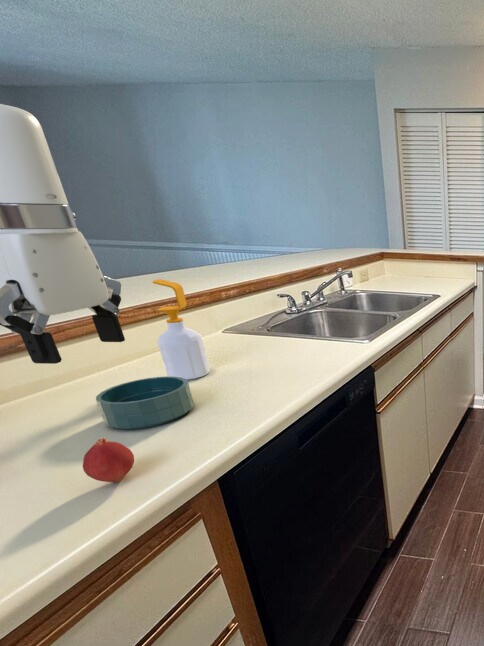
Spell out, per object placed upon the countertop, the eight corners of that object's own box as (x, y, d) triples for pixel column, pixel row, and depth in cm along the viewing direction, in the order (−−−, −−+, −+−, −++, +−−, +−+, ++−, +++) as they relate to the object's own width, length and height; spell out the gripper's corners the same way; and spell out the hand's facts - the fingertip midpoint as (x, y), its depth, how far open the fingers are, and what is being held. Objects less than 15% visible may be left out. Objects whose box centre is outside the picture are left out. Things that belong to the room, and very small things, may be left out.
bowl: (87, 426, 84) (75, 399, 82) (159, 398, 97) (151, 373, 95) (144, 435, 81) (135, 407, 79) (211, 405, 94) (204, 380, 92)
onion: (83, 495, 64) (63, 449, 61) (105, 474, 69) (88, 431, 66) (128, 489, 65) (111, 444, 62) (147, 469, 71) (132, 427, 68)
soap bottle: (176, 370, 114) (149, 277, 104) (215, 367, 116) (191, 277, 107) (162, 382, 106) (131, 283, 96) (204, 379, 108) (177, 282, 99)
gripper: (69, 219, 60) (110, 334, 67) (-90, 221, 44) (-16, 372, 51) (122, 220, 61) (157, 335, 67) (-18, 222, 45) (47, 373, 51)
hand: (83, 351), depth 59 cm, fingers open, 9 cm apart
